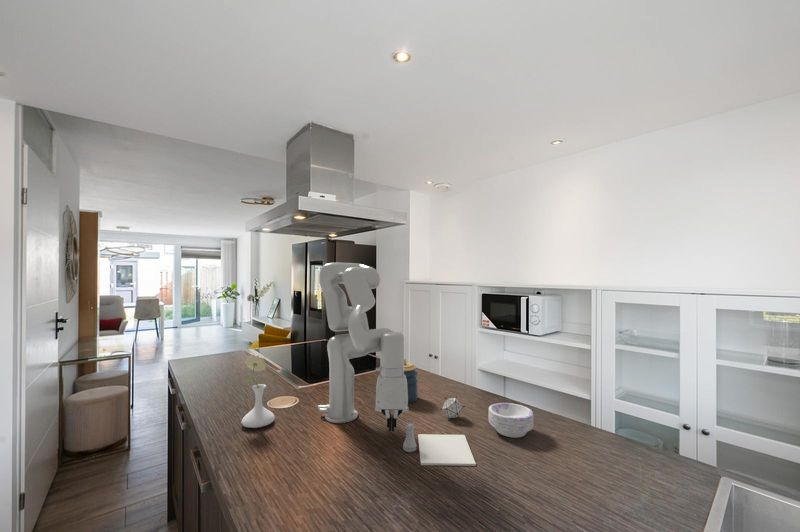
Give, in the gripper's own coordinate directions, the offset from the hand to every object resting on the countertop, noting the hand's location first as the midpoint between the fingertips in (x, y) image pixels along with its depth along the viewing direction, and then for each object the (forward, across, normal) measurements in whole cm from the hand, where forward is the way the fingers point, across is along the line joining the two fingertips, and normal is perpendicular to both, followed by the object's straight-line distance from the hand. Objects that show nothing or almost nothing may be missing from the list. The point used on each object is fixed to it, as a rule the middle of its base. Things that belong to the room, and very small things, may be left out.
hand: (391, 429), depth 110 cm
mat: (+6, +17, 0) cm, 18 cm away
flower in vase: (+6, -50, +17) cm, 53 cm away
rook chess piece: (+6, +6, 0) cm, 9 cm away
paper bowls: (+6, +42, +13) cm, 44 cm away
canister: (+6, +4, +44) cm, 45 cm away
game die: (+6, +23, +24) cm, 34 cm away
